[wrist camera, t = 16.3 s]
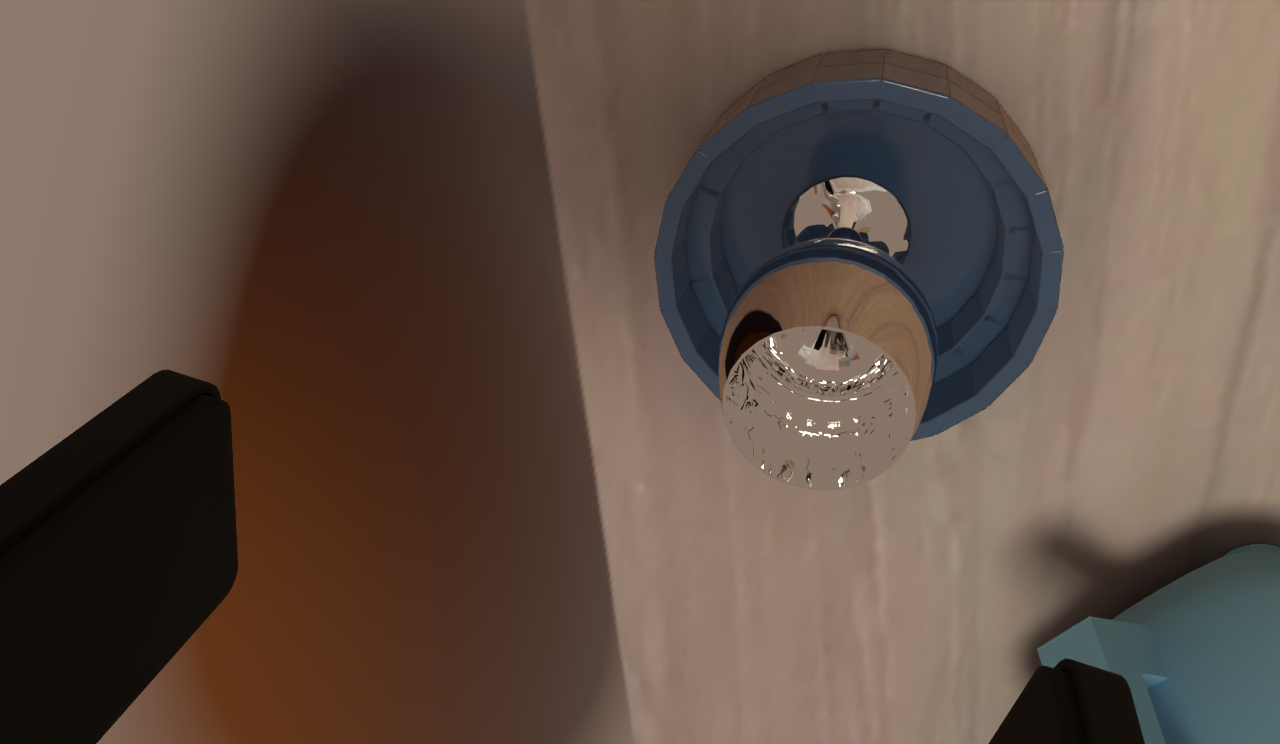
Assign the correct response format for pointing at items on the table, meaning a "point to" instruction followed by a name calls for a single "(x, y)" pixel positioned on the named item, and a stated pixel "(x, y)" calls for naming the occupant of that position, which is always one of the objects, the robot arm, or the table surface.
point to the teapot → (1195, 652)
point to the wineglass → (830, 342)
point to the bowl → (912, 169)
